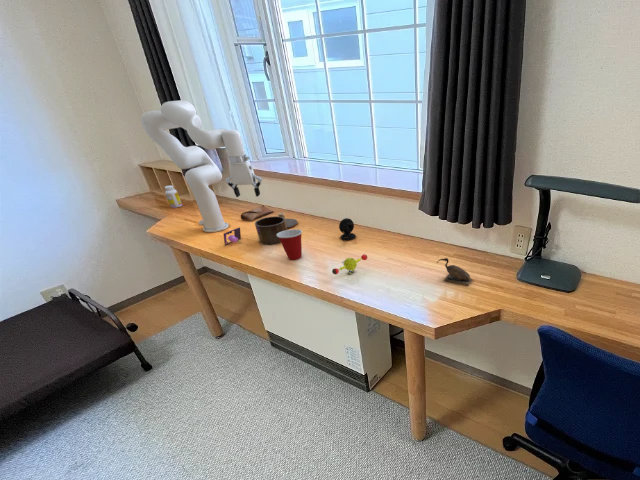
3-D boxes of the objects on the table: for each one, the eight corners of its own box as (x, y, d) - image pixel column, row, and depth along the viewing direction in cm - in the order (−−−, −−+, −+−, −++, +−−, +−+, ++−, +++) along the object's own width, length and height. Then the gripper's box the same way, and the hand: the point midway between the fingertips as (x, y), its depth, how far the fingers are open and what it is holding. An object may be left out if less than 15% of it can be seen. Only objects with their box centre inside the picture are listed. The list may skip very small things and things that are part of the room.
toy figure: (362, 263, 155) (360, 248, 152) (371, 266, 152) (370, 252, 149) (329, 279, 144) (326, 264, 140) (338, 283, 141) (336, 268, 137)
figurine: (434, 279, 142) (434, 259, 137) (439, 273, 145) (439, 254, 141) (468, 285, 137) (469, 265, 132) (472, 280, 140) (473, 260, 135)
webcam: (345, 242, 175) (342, 222, 170) (337, 237, 180) (334, 218, 175) (358, 237, 179) (356, 218, 174) (351, 233, 184) (348, 214, 179)
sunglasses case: (252, 221, 202) (244, 210, 201) (246, 225, 207) (238, 215, 205) (275, 211, 216) (268, 201, 214) (269, 215, 220) (262, 206, 218)
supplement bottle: (181, 204, 235) (173, 184, 228) (183, 206, 231) (175, 186, 224) (170, 206, 232) (161, 186, 225) (171, 208, 227) (163, 188, 220)
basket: (257, 246, 174) (251, 227, 169) (263, 235, 186) (258, 217, 180) (286, 243, 175) (281, 225, 170) (291, 233, 187) (286, 215, 182)
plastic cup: (306, 250, 168) (300, 226, 162) (308, 259, 160) (303, 234, 153) (281, 254, 165) (275, 229, 159) (283, 264, 157) (276, 238, 150)
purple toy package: (238, 226, 178) (222, 232, 172) (246, 231, 177) (230, 237, 171) (239, 237, 183) (223, 244, 176) (246, 242, 182) (231, 249, 175)
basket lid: (266, 231, 190) (263, 219, 186) (272, 221, 202) (269, 210, 199) (295, 229, 191) (292, 217, 188) (299, 219, 204) (297, 208, 200)
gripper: (259, 157, 170) (268, 193, 179) (223, 158, 170) (233, 194, 180) (253, 160, 164) (263, 197, 173) (215, 161, 164) (227, 198, 173)
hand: (248, 196), depth 176 cm, fingers open, 9 cm apart
